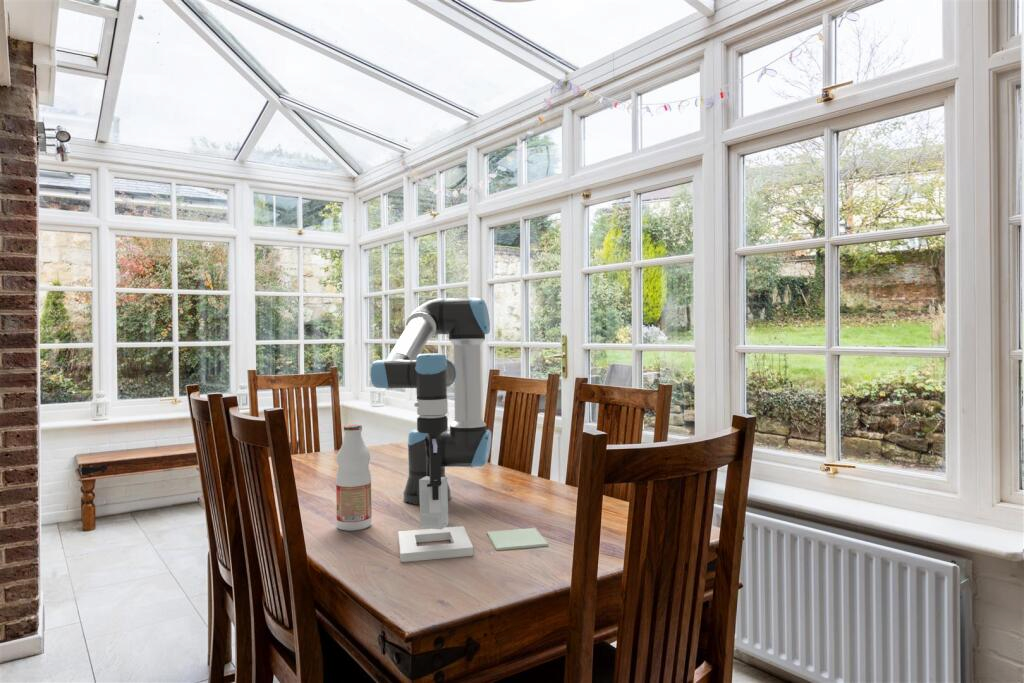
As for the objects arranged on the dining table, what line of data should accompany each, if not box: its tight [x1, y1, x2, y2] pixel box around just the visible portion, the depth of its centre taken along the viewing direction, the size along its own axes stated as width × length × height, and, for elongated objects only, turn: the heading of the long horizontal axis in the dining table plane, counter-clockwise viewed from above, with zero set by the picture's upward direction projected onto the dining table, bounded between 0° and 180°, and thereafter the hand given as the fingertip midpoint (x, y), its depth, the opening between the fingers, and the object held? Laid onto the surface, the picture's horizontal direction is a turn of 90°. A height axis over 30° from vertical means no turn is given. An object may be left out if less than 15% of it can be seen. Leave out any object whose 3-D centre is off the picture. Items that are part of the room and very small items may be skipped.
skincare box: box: [419, 476, 450, 529], centre depth 152 cm, size 6×4×12 cm
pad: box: [486, 527, 549, 551], centre depth 157 cm, size 13×13×1 cm
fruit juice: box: [335, 424, 373, 532], centre depth 170 cm, size 9×9×28 cm
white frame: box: [397, 525, 474, 563], centre depth 152 cm, size 17×17×2 cm
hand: (433, 508), depth 152 cm, fingers closed on skincare box, 6 cm apart
